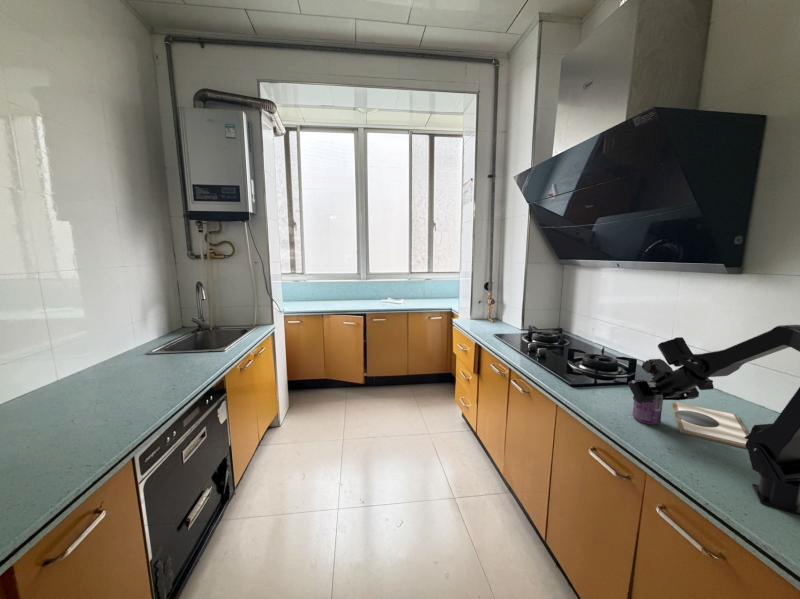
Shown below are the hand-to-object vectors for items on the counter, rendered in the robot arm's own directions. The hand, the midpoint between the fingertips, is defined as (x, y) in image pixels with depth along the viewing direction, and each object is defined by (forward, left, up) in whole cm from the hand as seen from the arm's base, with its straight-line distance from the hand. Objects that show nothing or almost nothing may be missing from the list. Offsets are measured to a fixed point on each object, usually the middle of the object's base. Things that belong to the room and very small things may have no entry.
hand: (644, 398), depth 103 cm
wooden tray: (+7, -17, -7) cm, 19 cm away
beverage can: (-1, -1, -7) cm, 7 cm away
